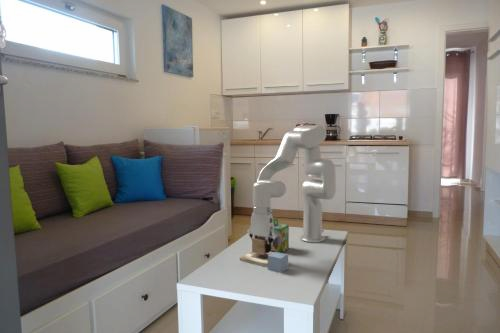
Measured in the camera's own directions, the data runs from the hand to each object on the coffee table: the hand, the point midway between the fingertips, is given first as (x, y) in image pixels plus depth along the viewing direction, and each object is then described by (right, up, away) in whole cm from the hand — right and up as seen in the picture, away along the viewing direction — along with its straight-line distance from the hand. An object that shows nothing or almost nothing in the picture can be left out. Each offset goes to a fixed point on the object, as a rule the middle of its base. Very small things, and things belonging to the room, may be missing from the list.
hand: (261, 250), depth 163 cm
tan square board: (0, -4, 0) cm, 4 cm away
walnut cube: (0, -1, 0) cm, 1 cm away
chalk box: (+8, -3, +15) cm, 17 cm away
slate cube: (+6, -5, -11) cm, 14 cm away
